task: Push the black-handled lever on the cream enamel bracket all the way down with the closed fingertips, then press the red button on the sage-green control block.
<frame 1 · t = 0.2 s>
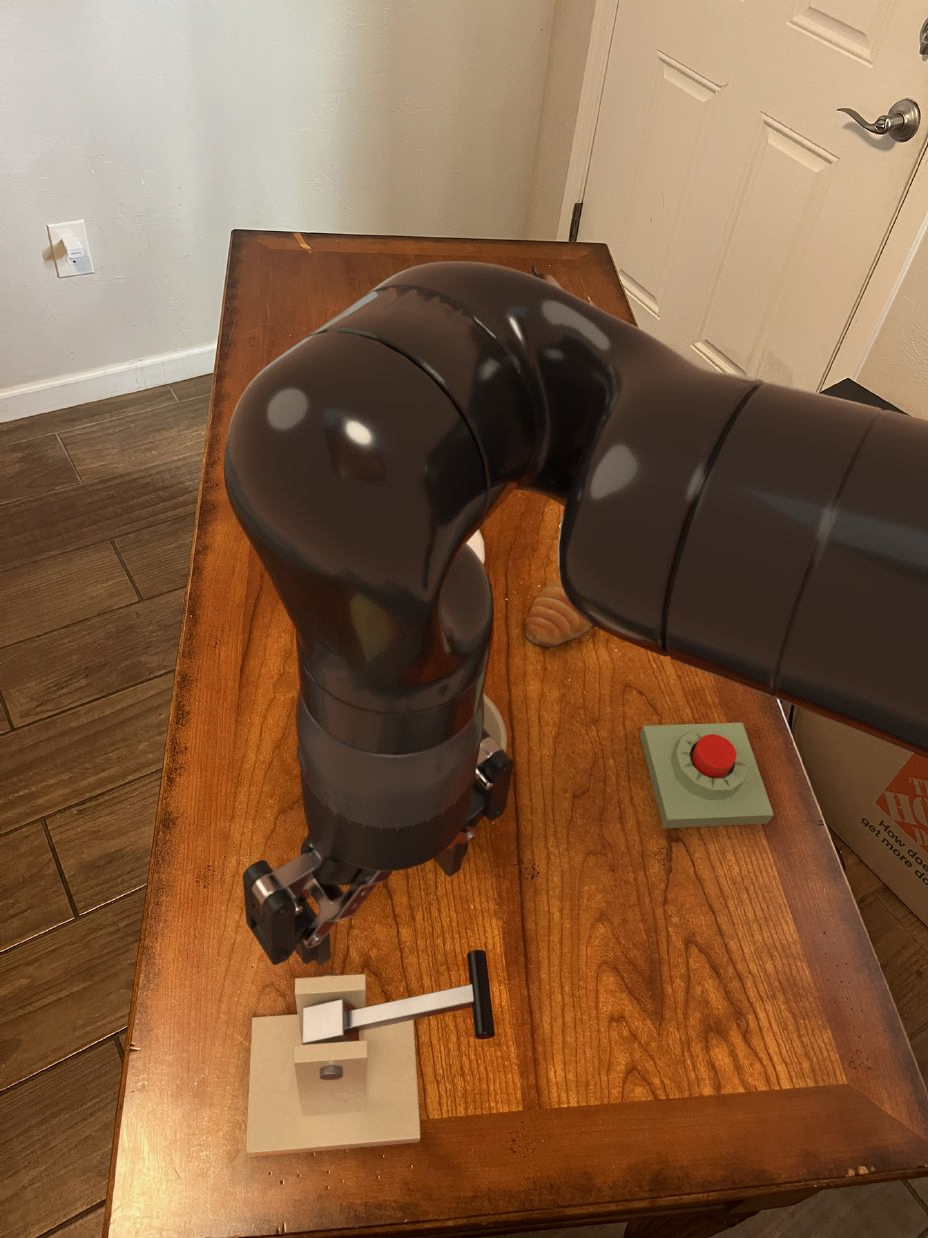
hand: (381, 903, 51), 26 cm above the table, tool pointing down, fingers open, 8 cm apart
pastry: (564, 620, 100), on the table
button block: (701, 778, 89), on the table
button: (714, 755, 86), point 4 cm above the table, slide at 0.1 cm
planter: (423, 801, 85), on the table
fruit: (540, 351, 132), on the table
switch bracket: (334, 1081, 69), on the table
lever: (398, 1011, 58), point 15 cm above the table, hinge at 25.0°
plate: (390, 553, 104), on the table
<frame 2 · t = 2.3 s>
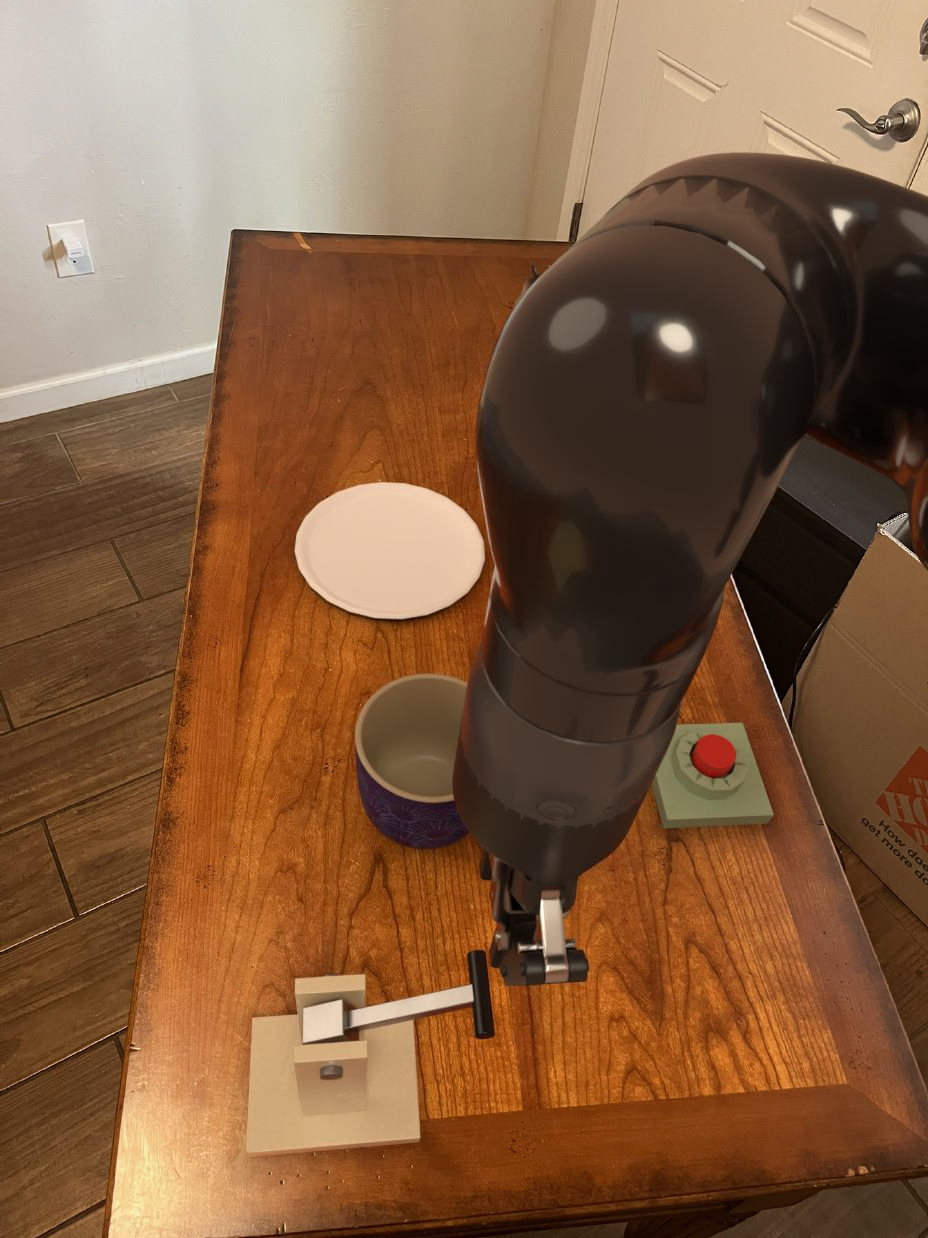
hand: (504, 914, 48), 29 cm above the table, tool pointing down, fingers open, 4 cm apart
nothing on the table moved.
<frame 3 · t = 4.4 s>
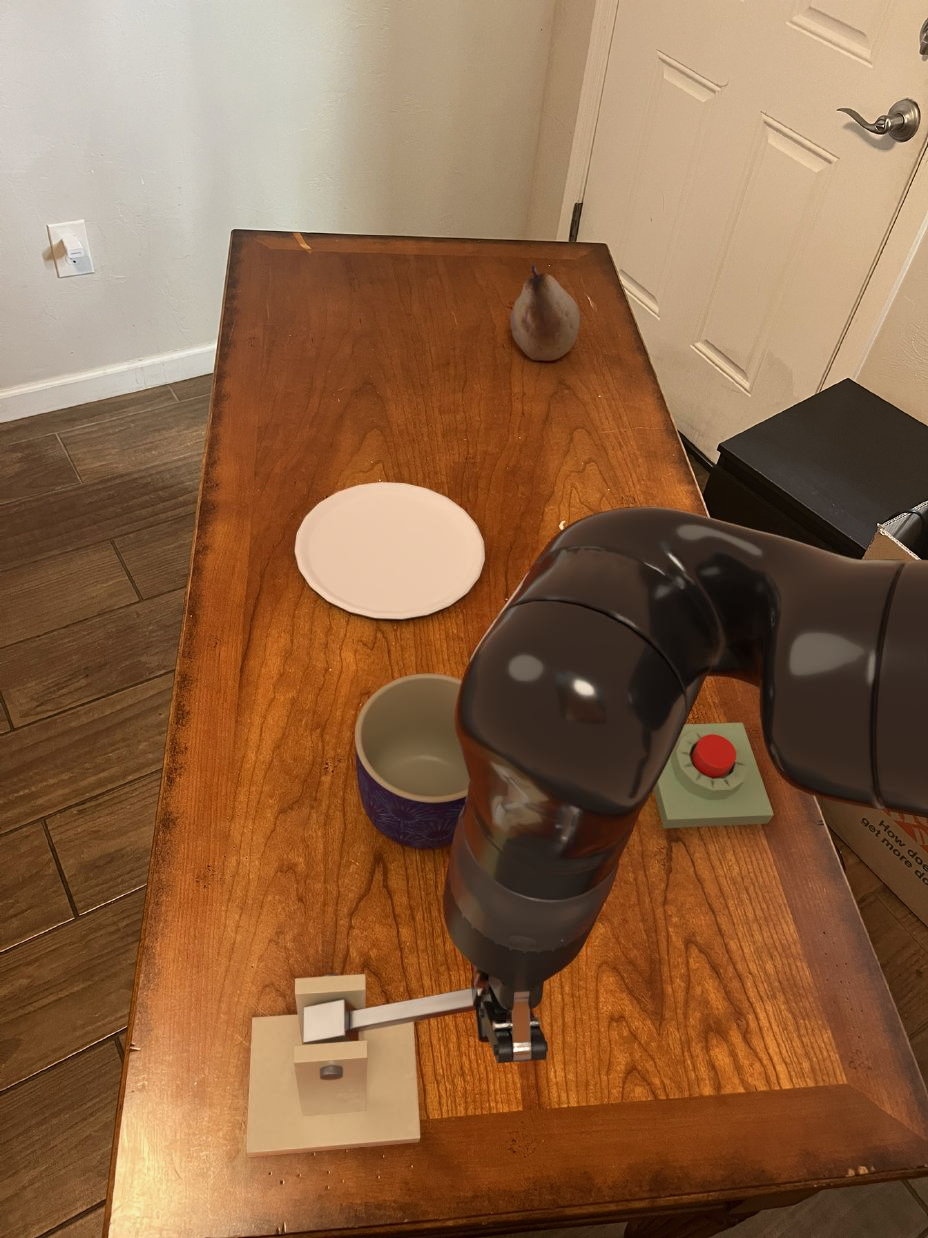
hand: (488, 993, 57), 17 cm above the table, tool pointing down, fingers closed
lever: (400, 1013, 58), point 15 cm above the table, hinge at 20.9°, touching gripper
everything else where it was.
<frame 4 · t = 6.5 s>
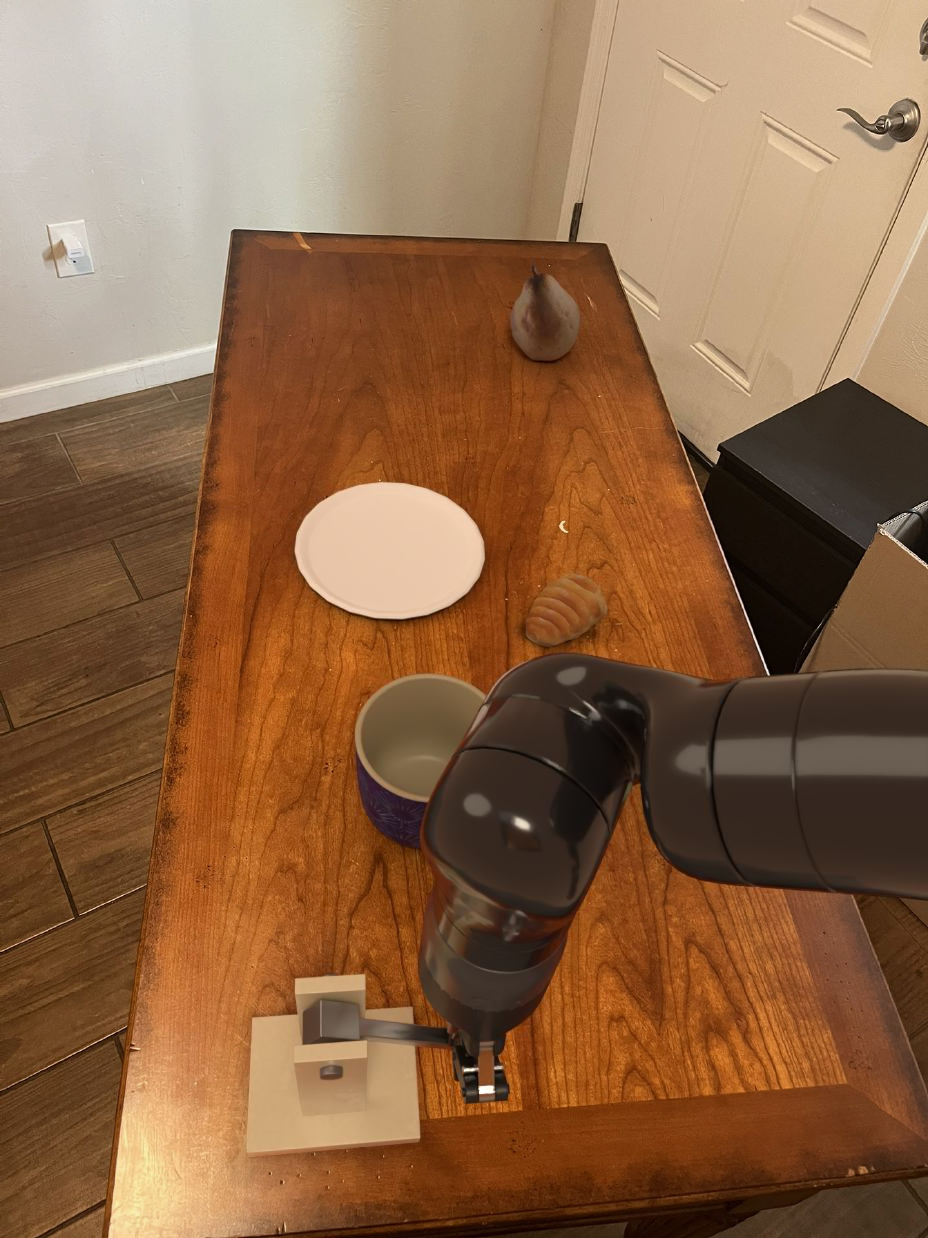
hand: (462, 1034, 64), 9 cm above the table, tool pointing down, fingers closed
lever: (392, 1033, 61), point 11 cm above the table, hinge at -30.7°, touching gripper
everything else where it was.
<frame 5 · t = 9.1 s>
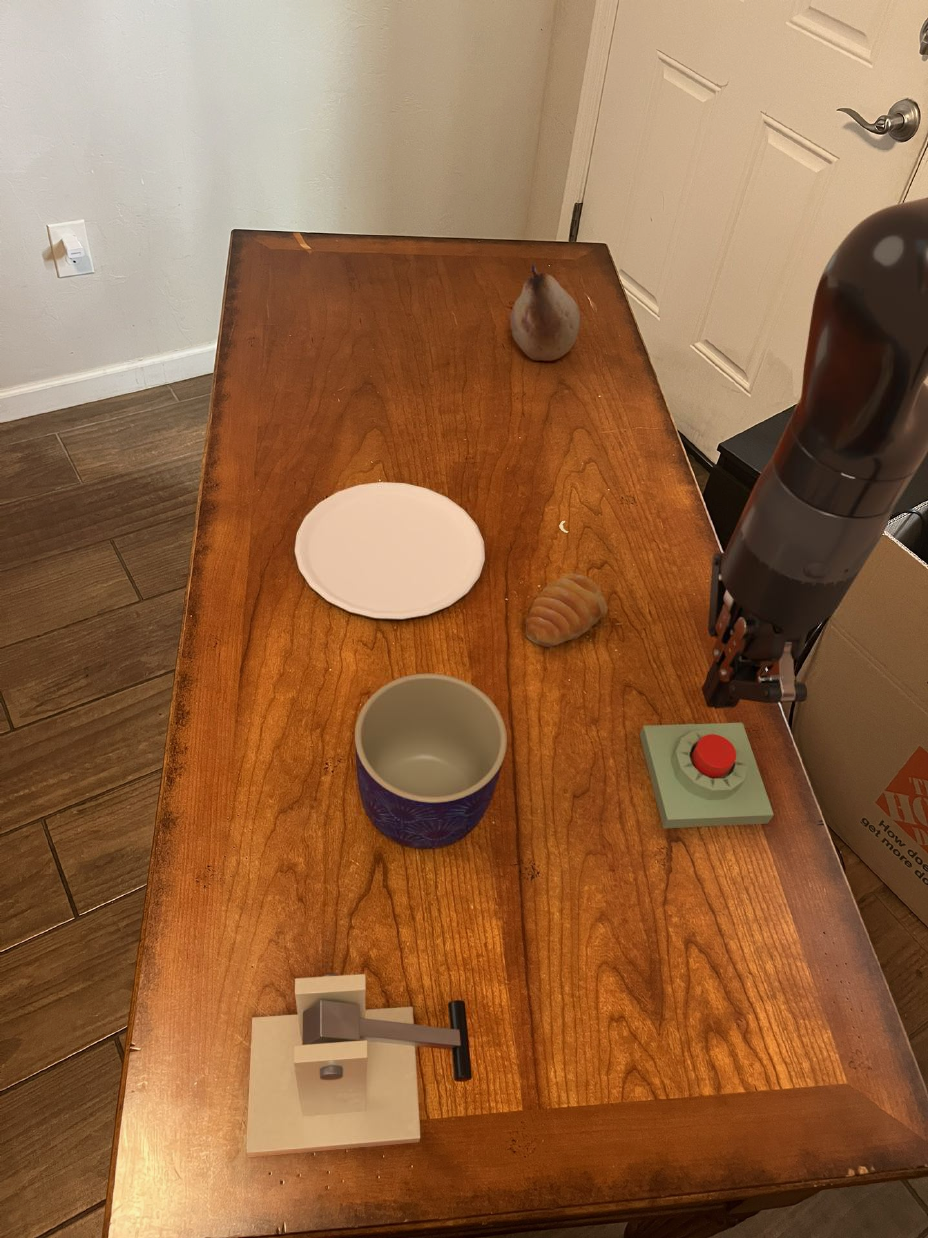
hand: (716, 698, 69), 21 cm above the table, tool pointing down, fingers closed
lever: (392, 1033, 61), point 11 cm above the table, hinge at -30.7°
everything else where it was.
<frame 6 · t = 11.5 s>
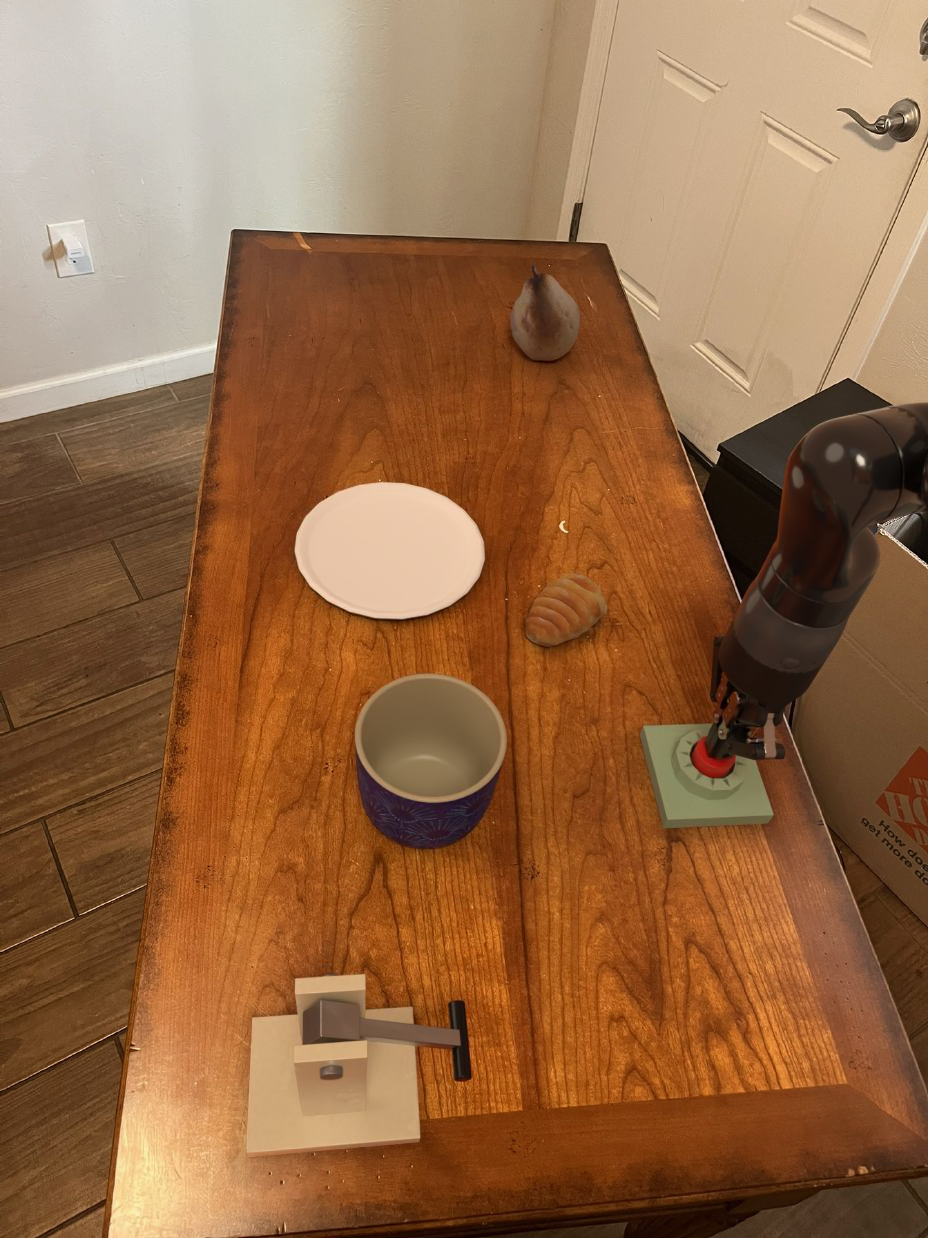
hand: (716, 750, 85), 5 cm above the table, tool pointing down, fingers closed
button: (713, 756, 86), point 4 cm above the table, slide at 0.0 cm, touching gripper
everything else where it was.
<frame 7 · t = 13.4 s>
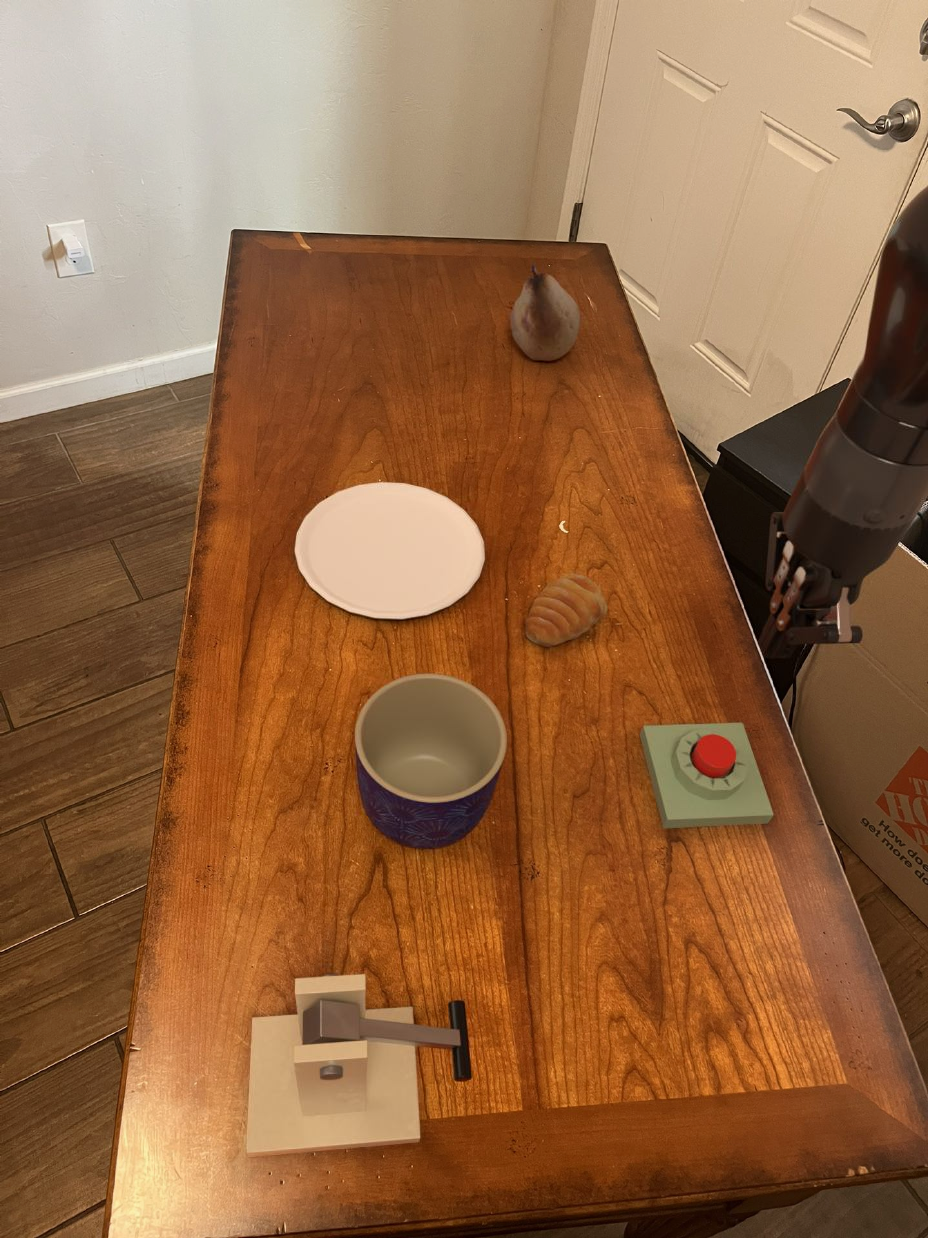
hand: (772, 650, 74), 20 cm above the table, tool pointing down, fingers closed
button: (714, 755, 86), point 4 cm above the table, slide at 0.1 cm
everything else where it was.
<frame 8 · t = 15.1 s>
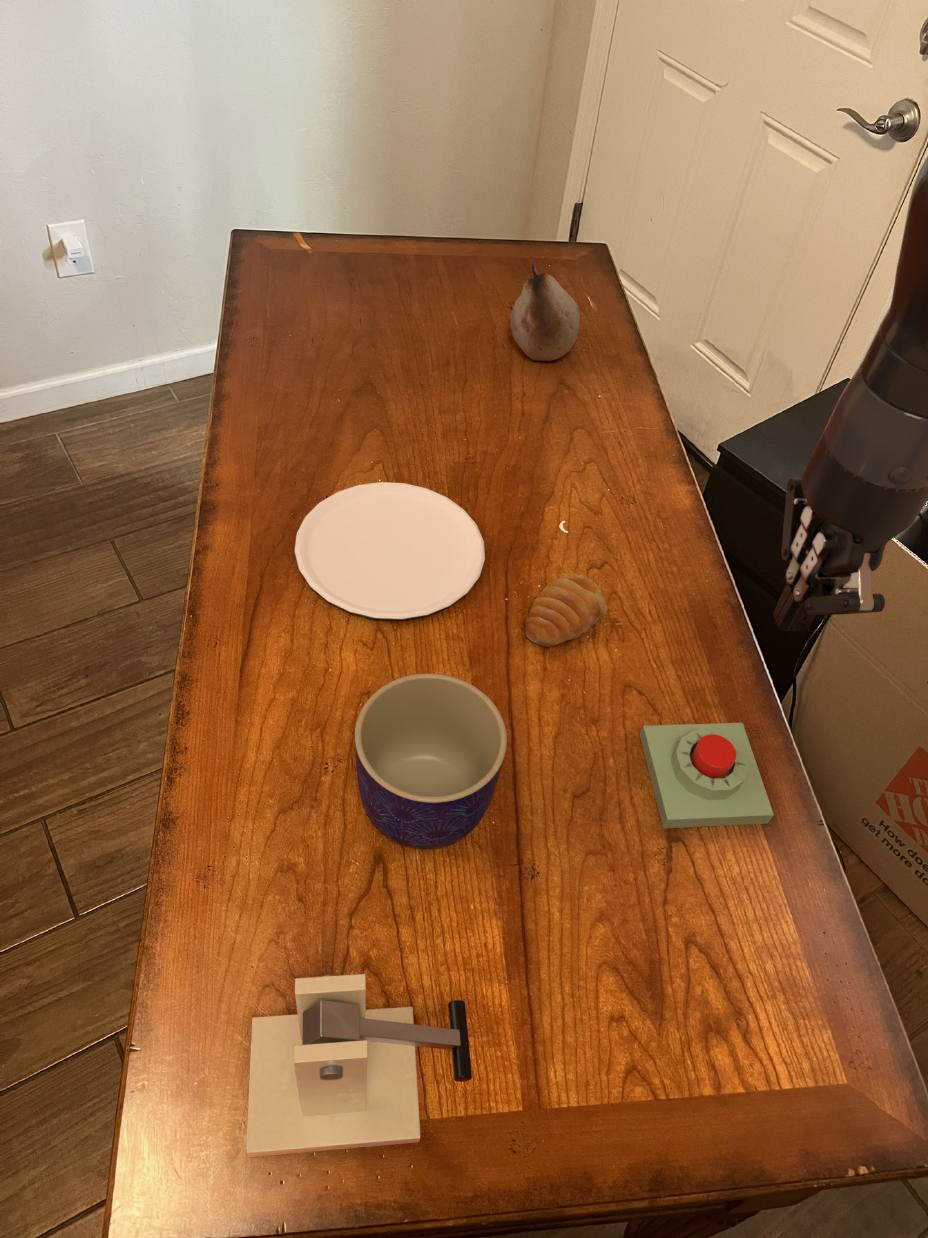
hand: (787, 622, 71), 23 cm above the table, tool pointing down, fingers closed
nothing on the table moved.
at the end: lever at -31° (first picture: +25°); button pushed in 1.0 cm at the most during the clip, back to where it started at the end; button slide at 0.1 cm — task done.
